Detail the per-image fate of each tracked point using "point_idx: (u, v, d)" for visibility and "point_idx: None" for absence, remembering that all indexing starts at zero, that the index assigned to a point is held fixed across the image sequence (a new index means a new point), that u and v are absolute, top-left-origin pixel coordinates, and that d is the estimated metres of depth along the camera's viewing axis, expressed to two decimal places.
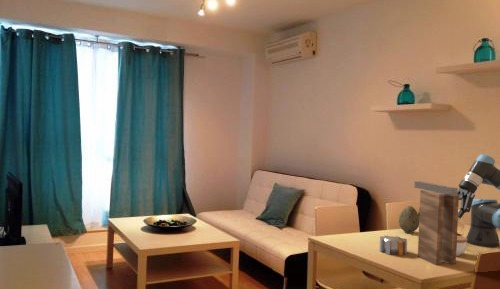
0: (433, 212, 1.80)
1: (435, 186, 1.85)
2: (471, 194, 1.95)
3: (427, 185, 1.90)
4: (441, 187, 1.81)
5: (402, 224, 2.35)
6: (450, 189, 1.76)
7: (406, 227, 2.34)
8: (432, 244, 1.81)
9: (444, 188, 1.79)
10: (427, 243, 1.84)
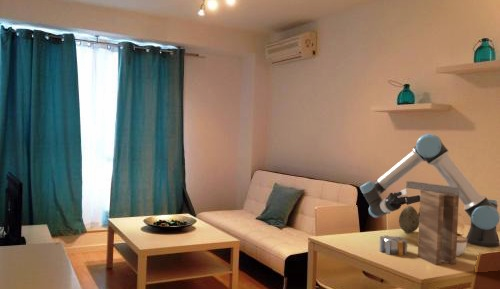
0: (433, 212, 1.80)
1: (434, 186, 1.85)
2: (386, 201, 2.13)
3: (423, 185, 1.89)
4: (442, 187, 1.82)
5: (402, 224, 2.35)
6: (454, 189, 1.77)
7: (406, 227, 2.34)
8: (432, 244, 1.81)
9: (446, 188, 1.80)
10: (427, 243, 1.84)
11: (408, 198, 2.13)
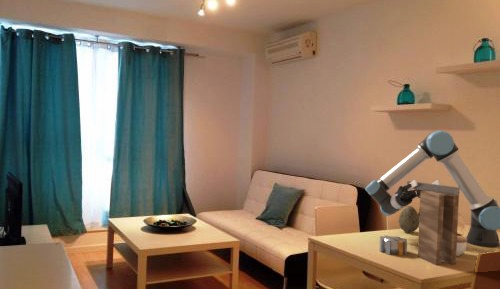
0: (433, 212, 1.80)
1: (434, 186, 1.85)
2: (396, 196, 2.03)
3: (424, 185, 1.89)
4: (442, 187, 1.82)
5: (402, 224, 2.35)
6: (454, 189, 1.77)
7: (406, 227, 2.34)
8: (432, 244, 1.81)
9: (446, 188, 1.80)
10: (427, 243, 1.84)
11: (418, 191, 2.03)
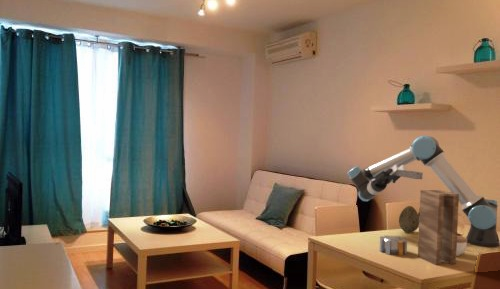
0: (433, 212, 1.80)
1: (404, 171, 2.01)
2: (373, 180, 2.18)
3: (397, 171, 2.06)
4: (408, 172, 1.97)
5: (402, 224, 2.35)
6: (415, 173, 1.92)
7: (406, 227, 2.34)
8: (432, 244, 1.81)
9: (411, 173, 1.96)
10: (427, 243, 1.84)
11: (388, 177, 2.18)
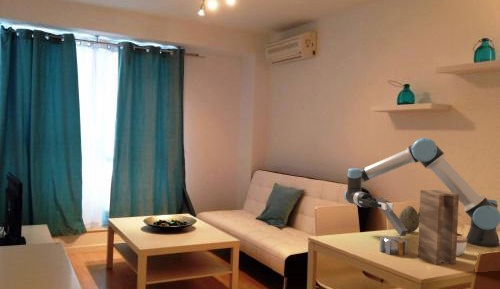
0: (433, 212, 1.80)
1: (391, 217, 1.97)
2: (360, 203, 2.14)
3: (385, 210, 2.01)
4: (395, 222, 1.94)
5: None
6: (401, 231, 1.89)
7: (406, 227, 2.34)
8: (432, 244, 1.81)
9: (397, 225, 1.92)
10: (427, 243, 1.84)
11: None
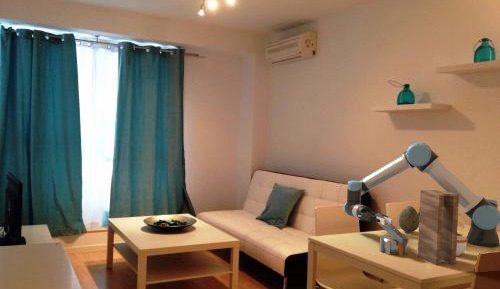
0: (433, 212, 1.80)
1: (390, 229, 1.97)
2: (359, 217, 2.15)
3: None
4: (394, 233, 1.93)
5: (402, 224, 2.35)
6: (401, 239, 1.88)
7: (406, 227, 2.34)
8: (432, 244, 1.81)
9: (396, 235, 1.92)
10: (427, 243, 1.84)
11: None
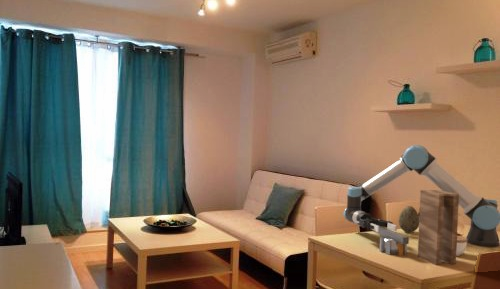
0: (433, 212, 1.80)
1: (390, 233, 1.97)
2: (357, 223, 2.16)
3: (383, 231, 2.02)
4: (394, 235, 1.93)
5: (402, 224, 2.35)
6: (402, 238, 1.88)
7: (406, 227, 2.34)
8: (432, 244, 1.81)
9: (397, 236, 1.91)
10: (427, 243, 1.84)
11: (377, 222, 2.14)
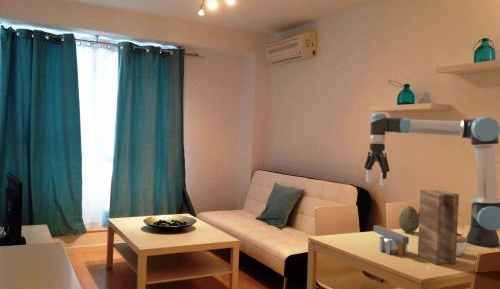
0: (433, 212, 1.80)
1: (390, 233, 1.97)
2: (383, 154, 2.15)
3: (383, 231, 2.02)
4: (394, 235, 1.93)
5: (402, 224, 2.35)
6: (402, 238, 1.88)
7: (406, 227, 2.34)
8: (432, 244, 1.81)
9: (397, 236, 1.91)
10: (427, 243, 1.84)
11: (373, 161, 2.25)
